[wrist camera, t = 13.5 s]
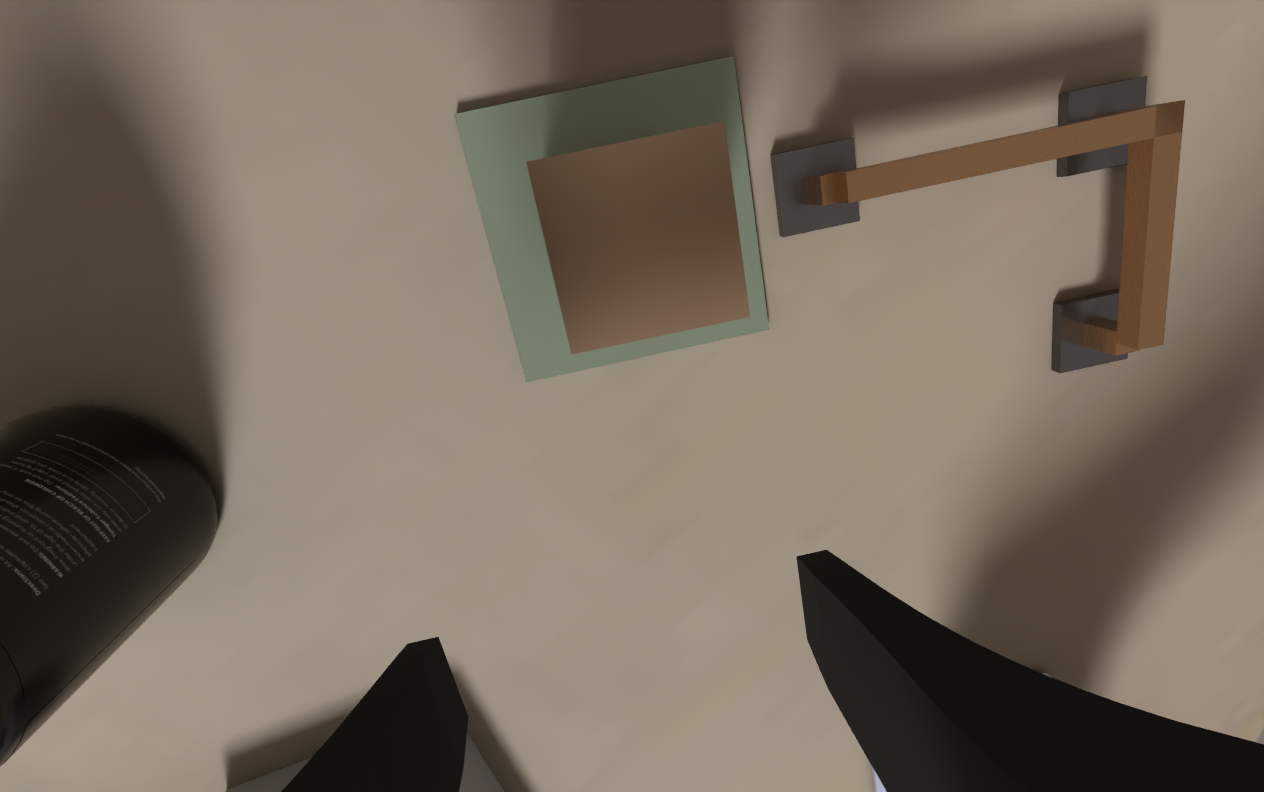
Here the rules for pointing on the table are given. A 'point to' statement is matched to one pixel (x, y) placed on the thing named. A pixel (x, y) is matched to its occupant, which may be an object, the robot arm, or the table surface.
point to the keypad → (475, 788)
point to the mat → (582, 123)
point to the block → (642, 237)
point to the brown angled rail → (1083, 141)
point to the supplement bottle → (87, 548)
